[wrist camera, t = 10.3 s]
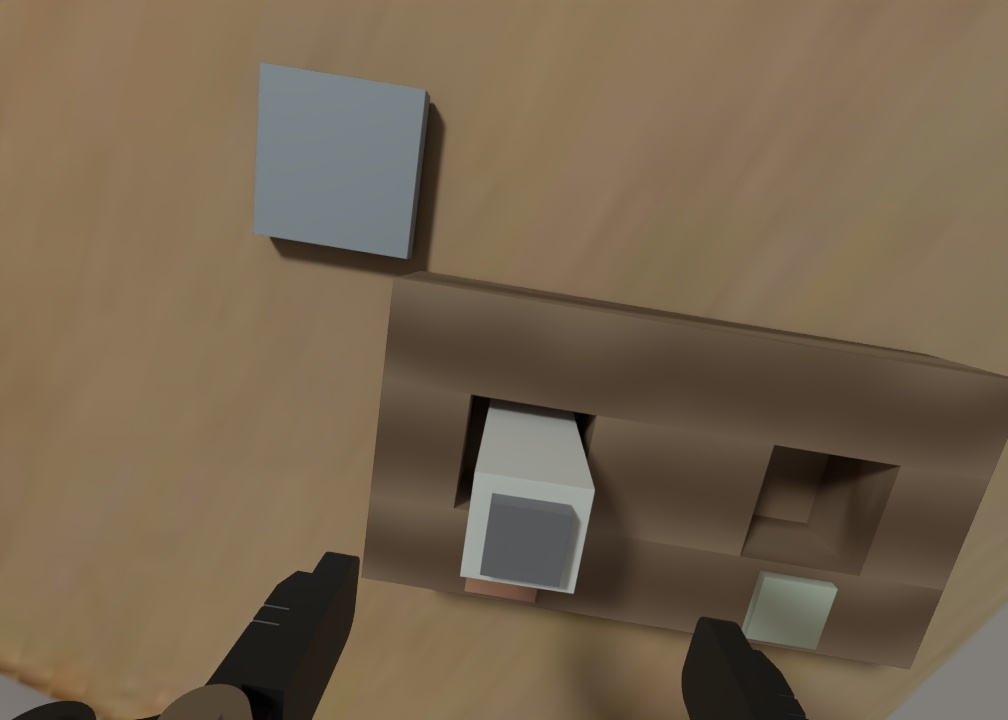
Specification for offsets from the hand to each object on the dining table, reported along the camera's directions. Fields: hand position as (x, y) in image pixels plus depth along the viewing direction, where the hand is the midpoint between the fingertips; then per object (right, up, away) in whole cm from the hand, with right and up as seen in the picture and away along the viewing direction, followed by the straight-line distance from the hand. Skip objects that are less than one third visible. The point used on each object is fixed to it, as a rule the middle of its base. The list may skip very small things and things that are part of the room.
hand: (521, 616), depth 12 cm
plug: (+1, +3, +12) cm, 13 cm away
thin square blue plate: (-8, +15, +11) cm, 20 cm away
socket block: (+7, +2, +13) cm, 15 cm away
